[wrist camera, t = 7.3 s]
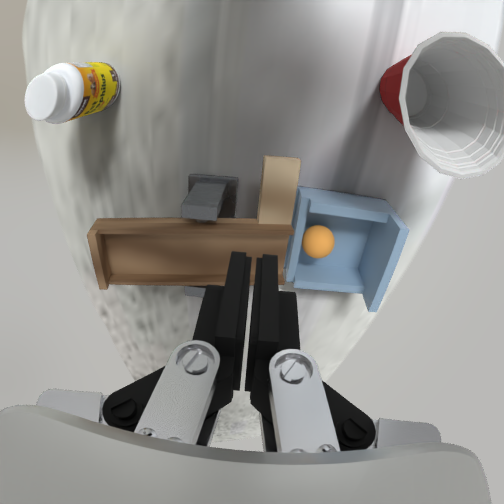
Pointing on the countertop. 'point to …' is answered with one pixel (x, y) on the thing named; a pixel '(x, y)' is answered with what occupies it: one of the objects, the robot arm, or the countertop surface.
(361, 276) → the blue tray
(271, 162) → the lever
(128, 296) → the countertop surface
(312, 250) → the ball
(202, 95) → the countertop surface
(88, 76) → the supplement bottle
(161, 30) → the countertop surface
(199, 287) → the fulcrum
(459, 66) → the plastic cup
